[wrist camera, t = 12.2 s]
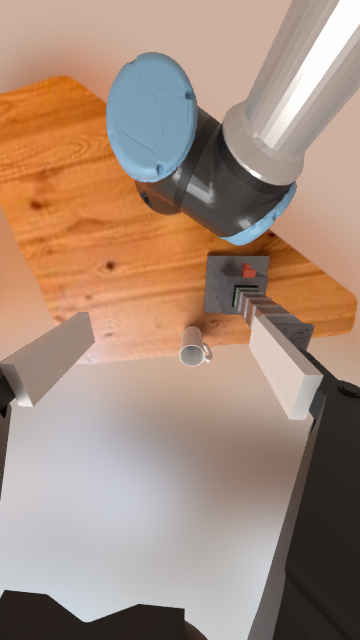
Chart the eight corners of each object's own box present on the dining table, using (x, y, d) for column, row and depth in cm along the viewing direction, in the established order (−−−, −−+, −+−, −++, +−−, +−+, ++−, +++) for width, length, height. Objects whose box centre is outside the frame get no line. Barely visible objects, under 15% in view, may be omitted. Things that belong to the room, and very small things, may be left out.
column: (233, 284, 41) (274, 325, 21) (254, 284, 41) (314, 326, 21) (231, 303, 43) (266, 357, 23) (250, 303, 43) (303, 358, 23)
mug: (177, 337, 59) (174, 359, 48) (187, 321, 56) (186, 340, 45) (204, 350, 60) (207, 374, 49) (214, 335, 58) (220, 357, 47)
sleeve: (207, 255, 48) (212, 259, 37) (267, 255, 47) (292, 260, 36) (203, 310, 55) (207, 329, 43) (257, 311, 54) (275, 330, 42)
